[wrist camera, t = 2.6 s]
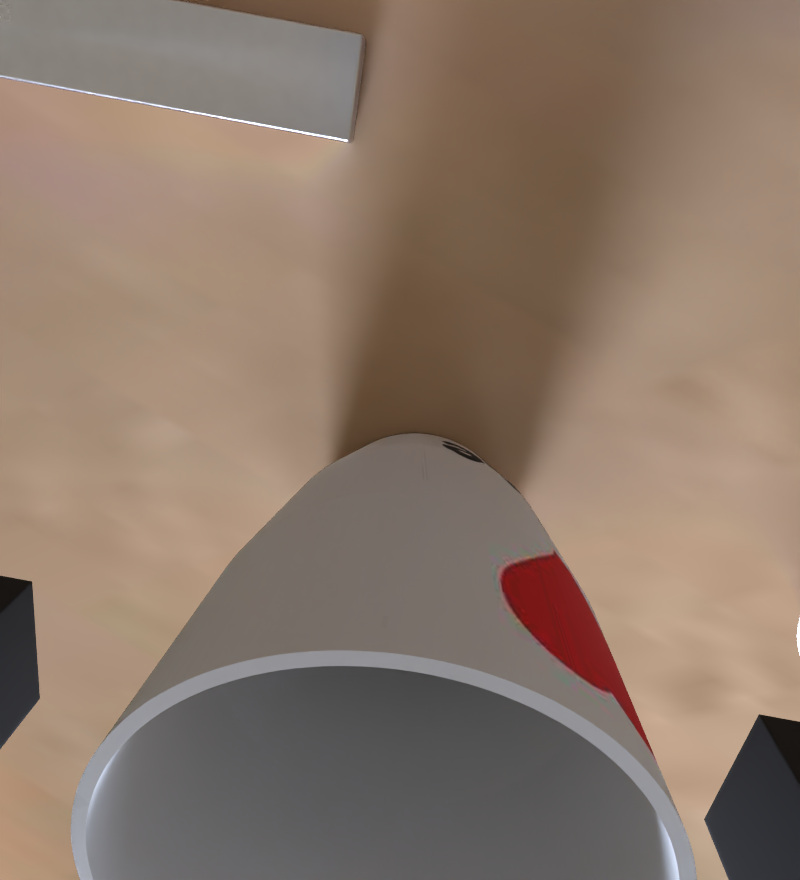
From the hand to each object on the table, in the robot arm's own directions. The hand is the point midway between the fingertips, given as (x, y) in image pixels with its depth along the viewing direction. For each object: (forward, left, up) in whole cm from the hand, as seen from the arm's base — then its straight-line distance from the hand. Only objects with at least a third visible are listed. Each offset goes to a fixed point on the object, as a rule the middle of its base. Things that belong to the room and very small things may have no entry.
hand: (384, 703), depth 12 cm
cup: (0, 0, -7) cm, 7 cm away
